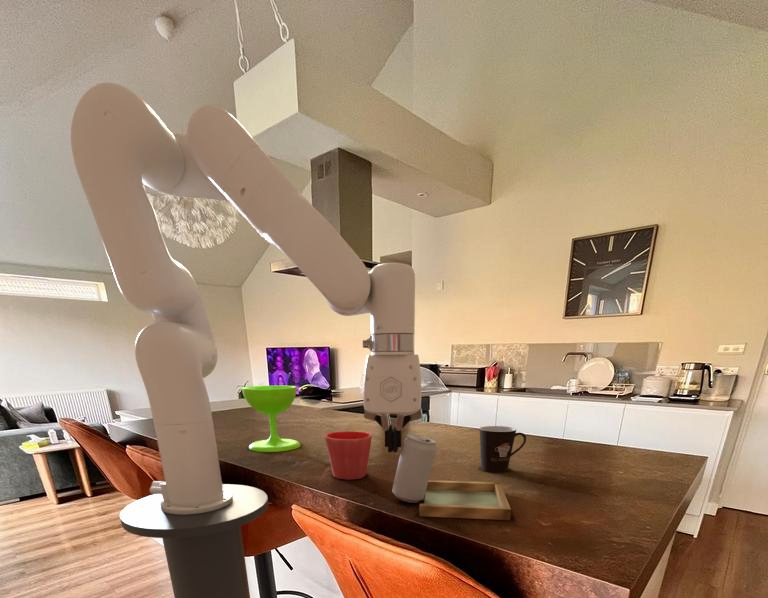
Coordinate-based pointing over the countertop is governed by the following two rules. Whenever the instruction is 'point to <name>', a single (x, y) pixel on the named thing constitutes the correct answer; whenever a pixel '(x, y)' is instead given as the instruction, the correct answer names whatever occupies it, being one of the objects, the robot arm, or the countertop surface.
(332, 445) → the flower pot
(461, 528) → the countertop surface
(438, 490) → the wooden tray
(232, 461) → the countertop surface
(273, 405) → the wineglass
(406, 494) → the beverage can
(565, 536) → the countertop surface
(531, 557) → the countertop surface
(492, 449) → the coffee mug
